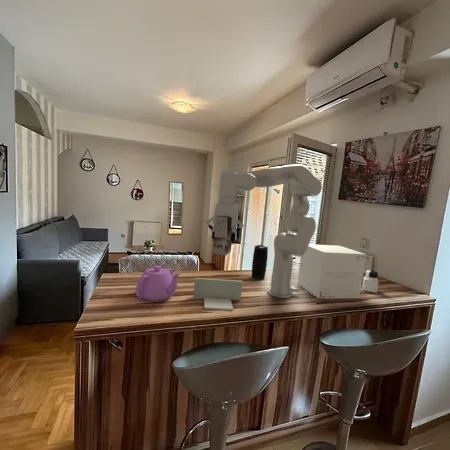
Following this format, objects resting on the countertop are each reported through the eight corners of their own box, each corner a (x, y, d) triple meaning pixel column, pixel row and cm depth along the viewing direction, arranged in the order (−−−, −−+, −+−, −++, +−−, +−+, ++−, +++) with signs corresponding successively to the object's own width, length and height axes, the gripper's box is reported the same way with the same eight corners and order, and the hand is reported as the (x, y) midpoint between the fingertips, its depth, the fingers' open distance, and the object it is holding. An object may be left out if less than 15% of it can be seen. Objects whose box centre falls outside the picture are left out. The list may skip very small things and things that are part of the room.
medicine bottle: (375, 290, 157) (378, 270, 155) (376, 294, 150) (380, 273, 149) (362, 287, 160) (365, 268, 158) (362, 291, 153) (365, 271, 152)
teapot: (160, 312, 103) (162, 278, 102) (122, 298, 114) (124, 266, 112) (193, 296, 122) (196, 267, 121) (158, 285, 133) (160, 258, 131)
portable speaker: (251, 279, 156) (255, 246, 154) (250, 274, 165) (253, 244, 163) (266, 280, 156) (269, 248, 154) (264, 276, 165) (267, 245, 163)
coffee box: (227, 255, 110) (230, 217, 109) (212, 253, 112) (215, 215, 110) (231, 251, 119) (234, 216, 117) (217, 249, 121) (220, 214, 119)
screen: (240, 299, 124) (242, 280, 123) (240, 300, 123) (242, 281, 122) (193, 296, 122) (194, 277, 121) (193, 297, 121) (194, 278, 120)
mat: (230, 301, 121) (230, 299, 121) (232, 310, 111) (233, 308, 111) (204, 299, 120) (204, 297, 120) (204, 309, 110) (204, 307, 110)
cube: (317, 299, 135) (324, 252, 132) (297, 284, 156) (302, 243, 153) (359, 299, 141) (366, 254, 138) (334, 285, 161) (339, 245, 159)
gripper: (245, 202, 117) (241, 241, 119) (206, 198, 116) (203, 238, 118) (248, 202, 110) (244, 244, 112) (206, 199, 109) (203, 241, 111)
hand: (223, 241), depth 115 cm, fingers closed on coffee box, 7 cm apart
